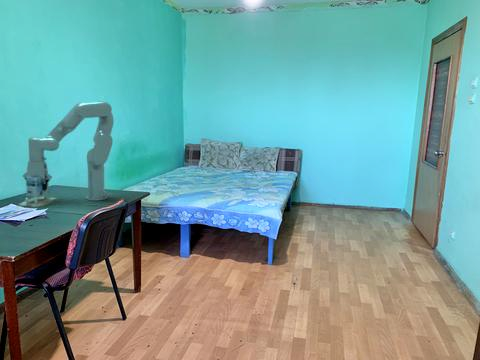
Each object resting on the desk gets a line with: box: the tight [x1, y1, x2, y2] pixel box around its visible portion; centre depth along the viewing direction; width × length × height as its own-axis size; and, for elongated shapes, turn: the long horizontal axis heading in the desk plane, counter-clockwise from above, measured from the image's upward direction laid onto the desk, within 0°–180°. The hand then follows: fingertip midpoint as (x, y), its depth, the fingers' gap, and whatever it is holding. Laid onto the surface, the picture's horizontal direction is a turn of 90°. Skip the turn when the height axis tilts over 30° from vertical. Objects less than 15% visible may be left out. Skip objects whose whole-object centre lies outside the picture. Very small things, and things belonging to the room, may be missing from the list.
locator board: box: [17, 196, 59, 208], centre depth 214 cm, size 14×18×1 cm
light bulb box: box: [25, 177, 50, 197], centre depth 212 cm, size 11×7×11 cm, turn 171°
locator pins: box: [25, 194, 47, 205], centre depth 213 cm, size 6×16×4 cm, turn 0°
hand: (37, 189), depth 212 cm, fingers closed on light bulb box, 7 cm apart
